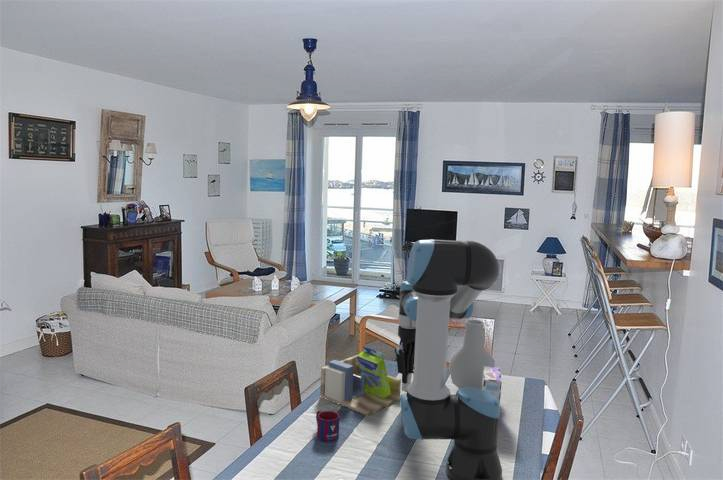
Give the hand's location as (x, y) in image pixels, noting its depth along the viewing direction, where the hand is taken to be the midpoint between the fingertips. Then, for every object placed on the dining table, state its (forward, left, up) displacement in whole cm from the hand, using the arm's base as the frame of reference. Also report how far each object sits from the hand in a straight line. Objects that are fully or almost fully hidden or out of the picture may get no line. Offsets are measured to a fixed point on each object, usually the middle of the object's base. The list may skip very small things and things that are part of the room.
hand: (406, 390), depth 195 cm
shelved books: (-12, +21, -5) cm, 25 cm away
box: (0, +12, -4) cm, 13 cm away
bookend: (-7, +20, -5) cm, 22 cm away
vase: (+26, -11, -6) cm, 29 cm away
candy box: (+12, -26, -6) cm, 29 cm away
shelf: (-5, +16, -6) cm, 18 cm away
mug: (-34, +6, -6) cm, 35 cm away
